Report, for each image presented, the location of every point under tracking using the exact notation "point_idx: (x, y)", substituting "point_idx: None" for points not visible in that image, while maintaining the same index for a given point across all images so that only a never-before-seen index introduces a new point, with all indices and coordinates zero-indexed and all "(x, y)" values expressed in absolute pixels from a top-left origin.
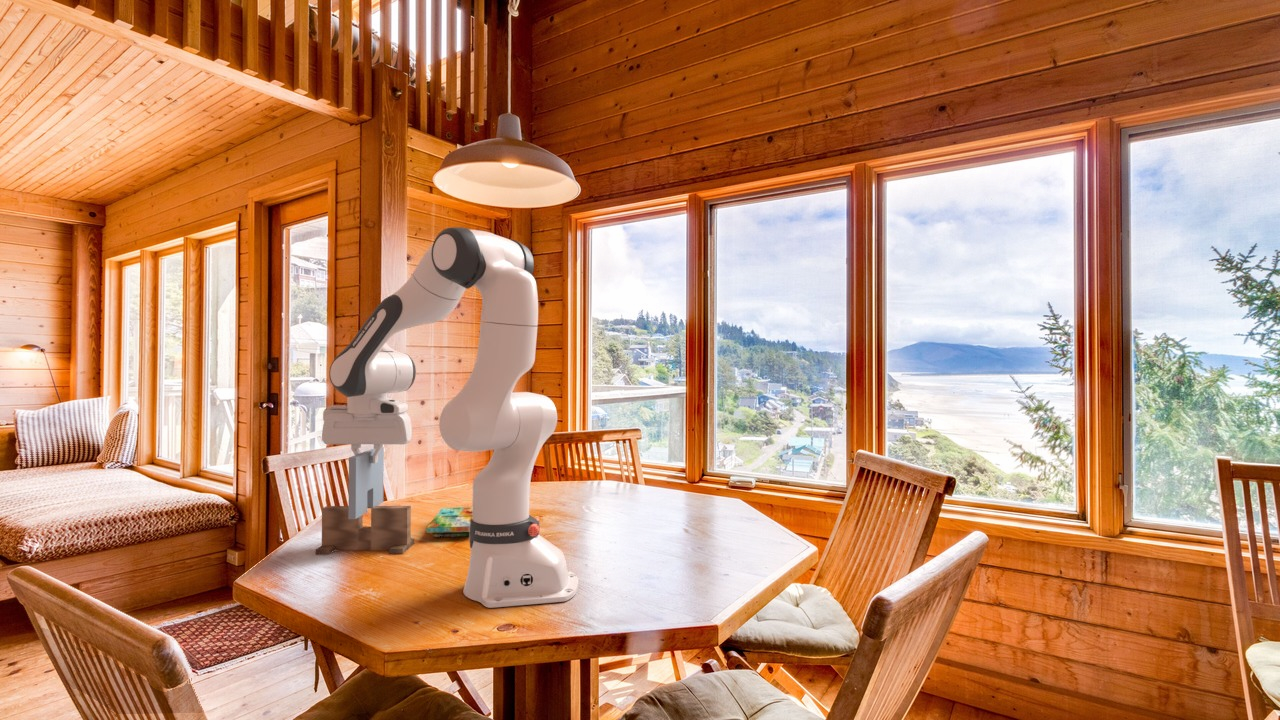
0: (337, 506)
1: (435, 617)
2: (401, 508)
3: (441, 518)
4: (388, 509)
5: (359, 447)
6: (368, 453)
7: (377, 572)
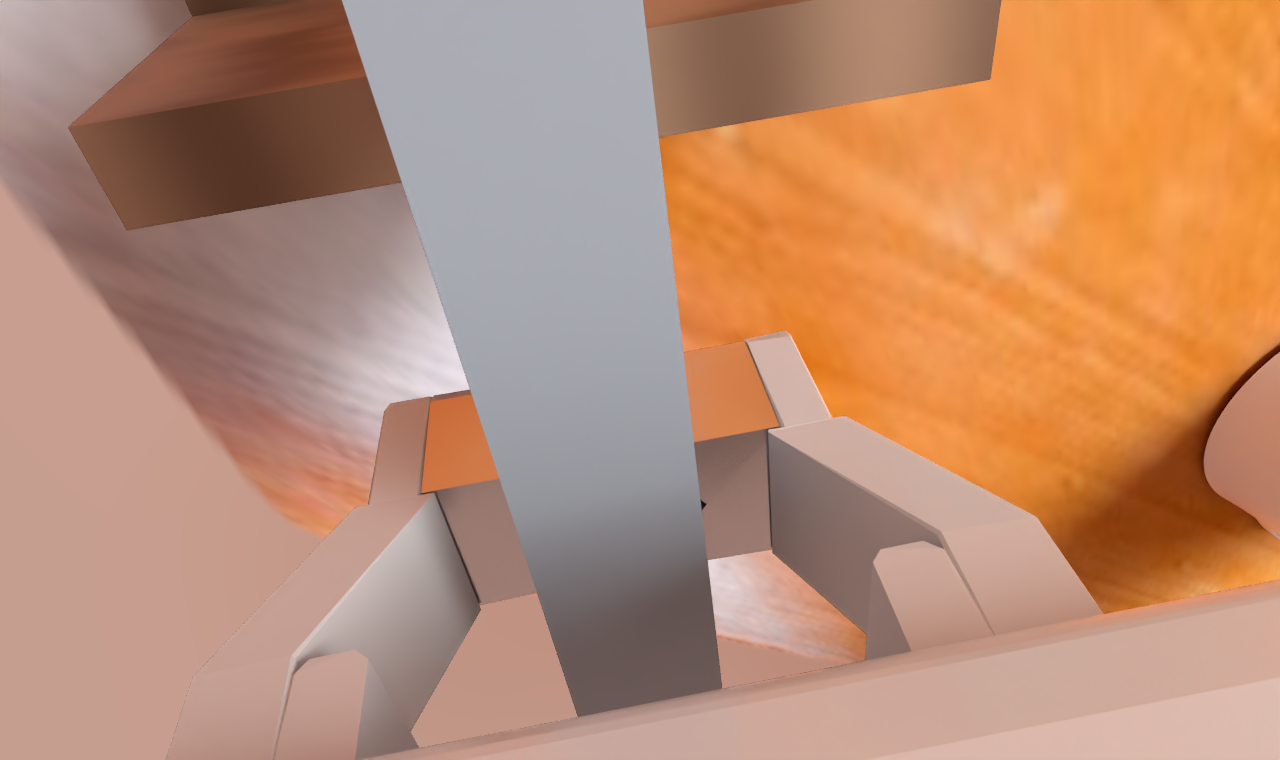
0: (209, 127)
1: (1114, 588)
2: (931, 88)
3: None
4: (799, 106)
5: (397, 713)
6: (715, 631)
7: (813, 349)
